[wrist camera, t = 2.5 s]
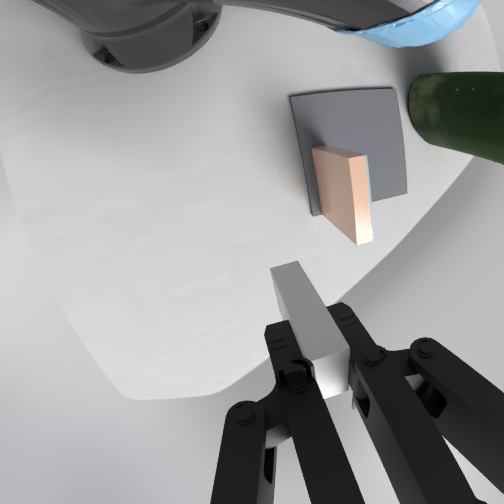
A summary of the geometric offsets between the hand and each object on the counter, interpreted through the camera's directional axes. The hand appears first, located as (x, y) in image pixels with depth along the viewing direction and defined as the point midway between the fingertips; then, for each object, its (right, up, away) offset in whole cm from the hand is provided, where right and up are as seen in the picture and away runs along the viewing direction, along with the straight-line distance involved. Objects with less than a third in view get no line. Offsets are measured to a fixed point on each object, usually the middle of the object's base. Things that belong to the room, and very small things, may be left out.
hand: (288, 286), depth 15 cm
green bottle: (+23, +21, +13) cm, 34 cm away
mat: (+10, +14, +15) cm, 23 cm away
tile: (+6, +10, +16) cm, 20 cm away
